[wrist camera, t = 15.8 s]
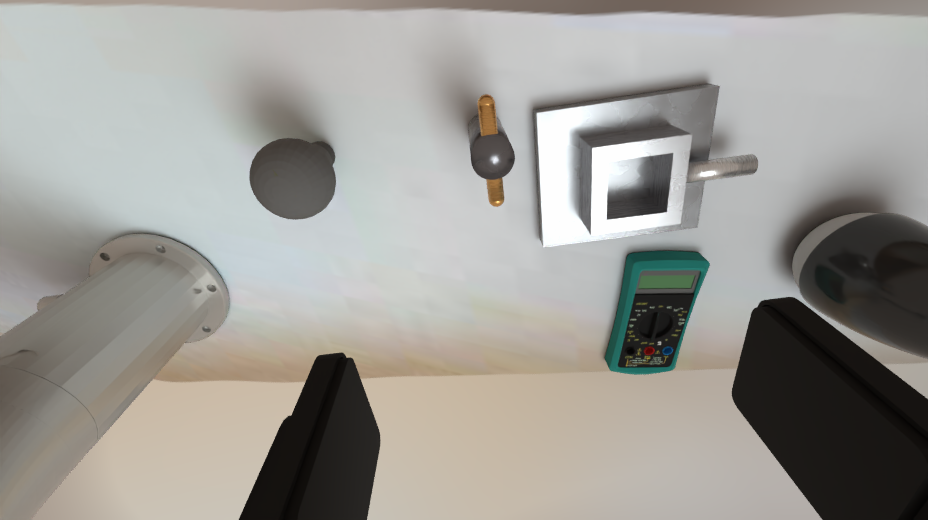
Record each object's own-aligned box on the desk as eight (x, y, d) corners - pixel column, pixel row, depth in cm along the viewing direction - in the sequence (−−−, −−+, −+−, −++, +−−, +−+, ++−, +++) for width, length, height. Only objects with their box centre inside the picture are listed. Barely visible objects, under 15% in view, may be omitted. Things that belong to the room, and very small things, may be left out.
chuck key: (462, 84, 32) (463, 100, 24) (497, 78, 32) (509, 93, 24) (474, 175, 36) (478, 215, 28) (505, 170, 36) (518, 209, 28)
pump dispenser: (775, 304, 43) (915, 424, 30) (768, 222, 39) (932, 322, 25) (881, 270, 41) (1081, 383, 28) (888, 180, 37) (1132, 264, 23)
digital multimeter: (601, 360, 47) (609, 379, 45) (625, 248, 40) (637, 263, 38) (664, 359, 48) (675, 378, 45) (699, 247, 40) (715, 262, 38)
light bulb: (354, 189, 36) (321, 238, 28) (290, 177, 36) (237, 224, 27) (359, 126, 34) (324, 159, 25) (290, 113, 33) (230, 141, 24)
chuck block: (540, 239, 39) (550, 265, 35) (533, 109, 33) (544, 121, 29) (715, 216, 38) (749, 240, 34) (740, 79, 32) (784, 86, 28)
